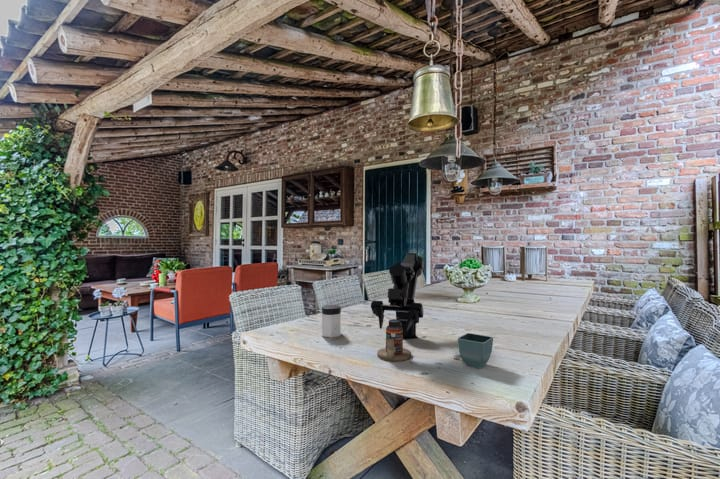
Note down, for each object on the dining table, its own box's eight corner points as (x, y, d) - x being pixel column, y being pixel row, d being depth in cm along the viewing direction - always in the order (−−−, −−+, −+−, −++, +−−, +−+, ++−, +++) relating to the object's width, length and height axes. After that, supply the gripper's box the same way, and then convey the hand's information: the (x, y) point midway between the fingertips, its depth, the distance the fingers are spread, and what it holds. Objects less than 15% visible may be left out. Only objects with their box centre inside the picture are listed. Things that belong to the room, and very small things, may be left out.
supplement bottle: (396, 356, 118) (396, 323, 117) (382, 352, 121) (382, 320, 121) (406, 352, 122) (406, 320, 122) (392, 348, 126) (392, 317, 126)
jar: (326, 338, 142) (326, 309, 142) (317, 334, 149) (317, 306, 149) (345, 335, 147) (345, 307, 147) (335, 331, 154) (335, 304, 154)
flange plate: (382, 348, 129) (382, 329, 129) (414, 351, 125) (414, 332, 125) (372, 359, 117) (372, 339, 117) (407, 363, 114) (407, 342, 114)
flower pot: (467, 358, 119) (467, 332, 118) (493, 364, 113) (493, 336, 113) (457, 365, 112) (457, 338, 112) (484, 372, 106) (484, 343, 106)
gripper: (371, 278, 128) (362, 314, 118) (422, 280, 122) (417, 318, 112) (377, 296, 136) (369, 331, 125) (425, 298, 130) (421, 336, 119)
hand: (393, 329), depth 120 cm, fingers open, 9 cm apart
